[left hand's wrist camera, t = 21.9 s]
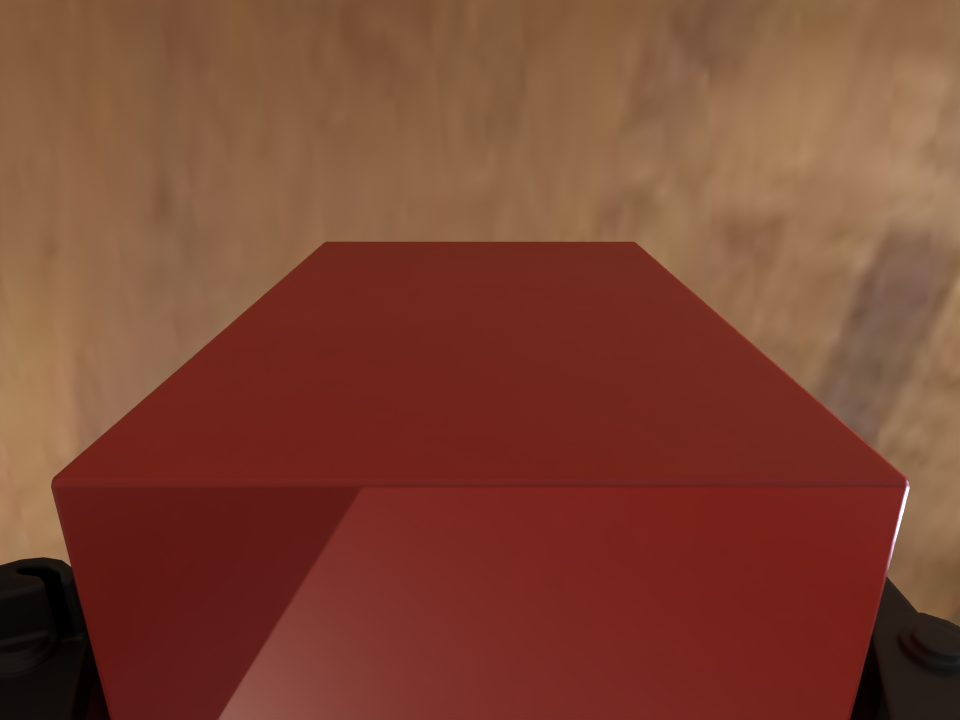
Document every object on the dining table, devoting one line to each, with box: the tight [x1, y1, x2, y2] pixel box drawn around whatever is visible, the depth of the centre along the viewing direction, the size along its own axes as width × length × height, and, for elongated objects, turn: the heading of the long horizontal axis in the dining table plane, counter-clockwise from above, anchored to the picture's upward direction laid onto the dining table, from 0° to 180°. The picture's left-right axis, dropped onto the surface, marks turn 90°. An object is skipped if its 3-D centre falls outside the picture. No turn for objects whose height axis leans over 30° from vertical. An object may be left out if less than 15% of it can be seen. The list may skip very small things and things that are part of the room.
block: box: [51, 242, 909, 720], centre depth 12 cm, size 8×7×11 cm
